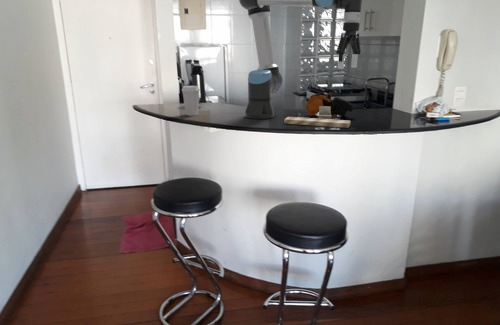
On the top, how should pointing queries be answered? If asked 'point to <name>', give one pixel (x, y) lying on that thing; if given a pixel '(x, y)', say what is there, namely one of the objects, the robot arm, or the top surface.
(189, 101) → the coffee cup
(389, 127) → the top surface
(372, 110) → the top surface
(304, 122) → the board
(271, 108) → the robot arm
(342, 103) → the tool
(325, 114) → the architectural model
